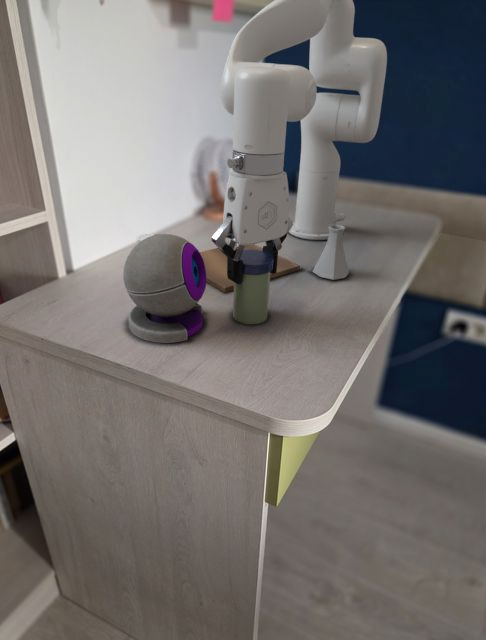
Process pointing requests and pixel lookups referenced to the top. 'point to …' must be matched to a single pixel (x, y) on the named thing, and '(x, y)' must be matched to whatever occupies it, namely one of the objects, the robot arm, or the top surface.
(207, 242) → the top surface
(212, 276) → the mat
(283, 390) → the top surface
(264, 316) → the jar
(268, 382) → the top surface
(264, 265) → the lid
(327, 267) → the flask
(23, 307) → the top surface
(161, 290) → the webcam
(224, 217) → the robot arm
